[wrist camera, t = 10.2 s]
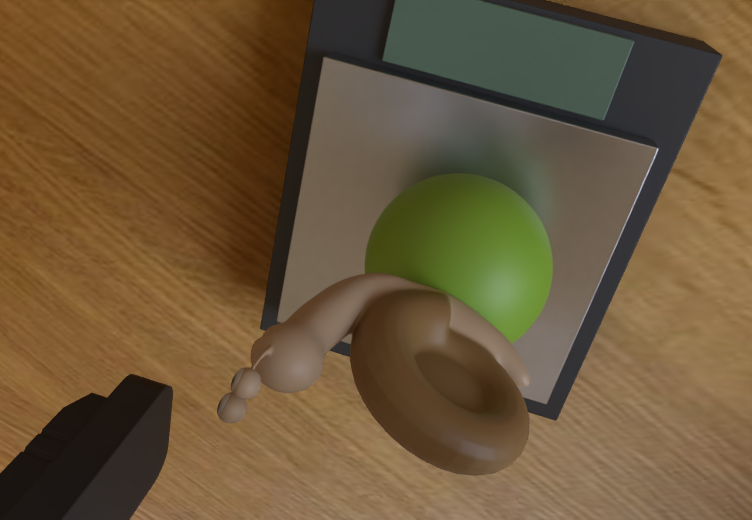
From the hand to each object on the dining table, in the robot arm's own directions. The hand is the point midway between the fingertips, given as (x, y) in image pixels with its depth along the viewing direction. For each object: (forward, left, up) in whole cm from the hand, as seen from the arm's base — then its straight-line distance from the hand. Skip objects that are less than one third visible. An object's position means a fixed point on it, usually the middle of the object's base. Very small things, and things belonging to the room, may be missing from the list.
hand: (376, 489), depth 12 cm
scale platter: (+1, 0, -13) cm, 13 cm away
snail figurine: (0, 0, -12) cm, 12 cm away
